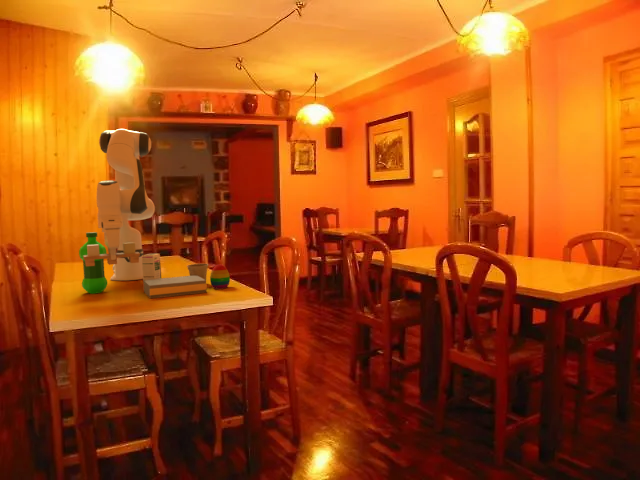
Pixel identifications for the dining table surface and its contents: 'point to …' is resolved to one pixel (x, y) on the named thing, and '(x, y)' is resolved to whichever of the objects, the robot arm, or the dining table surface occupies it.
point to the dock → (174, 286)
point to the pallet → (90, 259)
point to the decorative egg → (219, 277)
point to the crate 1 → (93, 250)
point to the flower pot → (198, 270)
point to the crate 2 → (129, 248)
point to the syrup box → (151, 266)
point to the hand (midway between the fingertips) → (112, 258)
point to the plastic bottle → (93, 267)
